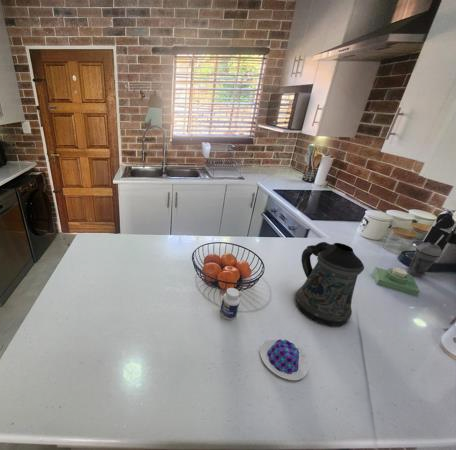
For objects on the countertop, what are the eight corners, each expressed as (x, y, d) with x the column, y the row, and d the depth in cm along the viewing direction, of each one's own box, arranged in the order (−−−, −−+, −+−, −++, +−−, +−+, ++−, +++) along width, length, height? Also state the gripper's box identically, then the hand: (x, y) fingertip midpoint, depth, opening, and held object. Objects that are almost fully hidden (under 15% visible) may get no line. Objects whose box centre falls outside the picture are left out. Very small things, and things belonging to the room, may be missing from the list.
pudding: (313, 386, 63) (320, 373, 60) (264, 377, 64) (269, 364, 62) (297, 345, 73) (303, 333, 71) (255, 338, 75) (259, 326, 73)
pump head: (403, 274, 98) (406, 270, 97) (406, 279, 95) (408, 275, 94) (390, 270, 99) (393, 266, 99) (392, 275, 96) (395, 271, 95)
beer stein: (343, 337, 77) (378, 272, 65) (278, 304, 88) (299, 244, 77) (351, 308, 88) (382, 248, 76) (292, 283, 99) (312, 227, 88)
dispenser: (408, 284, 101) (415, 273, 98) (414, 299, 93) (423, 287, 90) (371, 274, 106) (377, 262, 103) (374, 287, 98) (381, 275, 96)
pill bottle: (218, 317, 82) (223, 294, 78) (221, 306, 86) (225, 284, 82) (235, 322, 80) (241, 299, 76) (236, 310, 85) (242, 288, 80)
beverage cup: (401, 267, 112) (424, 228, 103) (423, 273, 108) (449, 233, 99) (404, 275, 106) (428, 234, 97) (427, 282, 103) (455, 240, 94)
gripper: (518, 202, 70) (477, 256, 78) (491, 189, 81) (458, 237, 89) (479, 196, 73) (444, 249, 81) (459, 184, 85) (430, 231, 93)
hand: (452, 243), depth 85 cm, fingers closed
